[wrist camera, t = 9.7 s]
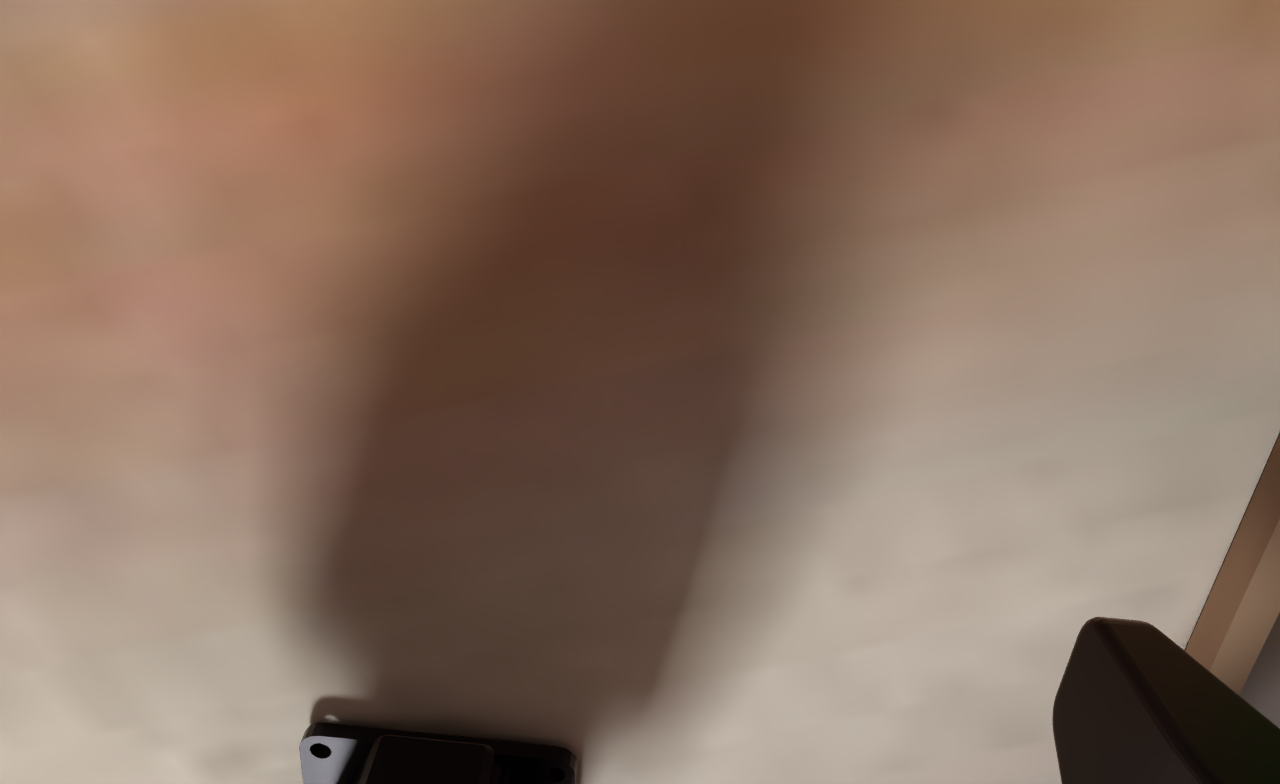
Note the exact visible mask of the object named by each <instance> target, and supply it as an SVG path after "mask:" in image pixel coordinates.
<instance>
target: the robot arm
mask: <svg viewBox="0 0 1280 784" xmlns="http://www.w3.org/2000/svg"><path fill="white" fill-rule="evenodd" d="M1053 733H1054V740H1055V746H1056V751H1057V757H1058V763H1059V769H1060V775H1061V781H1062V784H1280V728H1278V727H1277V726H1276V725H1275V724H1274V723H1272V722H1271V721H1270V720H1269V719H1267V718H1266V717H1265V716H1264V715H1262V714H1261V713H1260V712H1259V711H1258V710H1256V709H1255V708H1254V707H1253V706H1251V705H1250V704H1249V703H1248V702H1247V701H1245V700H1244V699H1243V698H1242V697H1240V696H1239V695H1238V694H1237V693H1236V692H1234V691H1233V690H1232V689H1231V688H1229V687H1228V686H1227V685H1226V684H1224V683H1223V682H1222V681H1221V680H1220V679H1218V678H1217V677H1216V676H1215V675H1213V674H1212V673H1211V672H1210V671H1209V670H1207V669H1206V668H1205V667H1204V666H1202V665H1201V664H1200V663H1199V662H1198V661H1196V660H1195V659H1194V658H1193V657H1191V656H1190V655H1189V654H1188V653H1186V652H1185V651H1184V650H1183V649H1182V648H1180V647H1179V646H1178V645H1177V644H1175V643H1174V642H1173V641H1172V640H1171V639H1169V638H1168V637H1167V636H1166V635H1164V634H1163V633H1162V632H1161V631H1160V630H1158V629H1157V628H1155V627H1154V626H1153V625H1151V624H1149V623H1146V622H1143V621H1137V620H1126V619H1116V618H1106V617H1095V618H1092V619H1090V620H1088V621H1087V622H1086V623H1085V624H1084V625H1083V627H1082V628H1081V630H1080V632H1079V634H1078V637H1077V640H1076V643H1075V645H1074V648H1073V651H1072V653H1071V656H1070V659H1069V662H1068V664H1067V667H1066V670H1065V672H1064V675H1063V678H1062V681H1061V683H1060V686H1059V689H1058V692H1057V694H1056V698H1055V701H1054V707H1053ZM323 744H324V745H323ZM299 749H300V758H301V766H302V775H303V784H576V777H577V759H576V756H575V755H574V754H573V753H572V752H571V751H569V750H568V749H566V748H563V747H558V746H550V745H540V744H530V743H521V742H511V741H501V740H491V739H481V738H471V737H461V736H451V735H441V734H431V733H421V732H411V731H401V730H391V729H381V728H371V727H361V726H351V725H341V724H331V723H316V724H313V725H311V726H309V727H308V728H307V730H306V731H305V734H304V736H303V738H302V741H301V743H300V748H299ZM552 767H557V768H552Z"/></svg>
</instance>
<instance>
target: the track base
mask: <svg viewBox="0 0 1280 784" xmlns="http://www.w3.org/2000/svg"><path fill="white" fill-rule="evenodd" d="M1185 652H1186V653H1188V654H1189V655H1190V656H1191V657H1193V658H1194V659H1195V660H1196V661H1198V662H1199V663H1200V664H1201V665H1202V666H1204V667H1205V668H1206V669H1207V670H1209V671H1210V672H1211V673H1212V674H1213V675H1215V676H1216V677H1217V678H1218V679H1220V680H1221V681H1222V682H1223V683H1224V684H1226V685H1227V686H1228V687H1229V688H1231V689H1232V690H1233V691H1234V692H1236V693H1237V694H1238V695H1239V696H1240V697H1242V698H1243V699H1244V700H1245V701H1247V702H1248V703H1249V704H1250V705H1251V706H1253V707H1254V708H1255V709H1256V710H1258V711H1259V712H1260V713H1261V714H1262V715H1264V716H1265V717H1266V718H1267V719H1269V720H1270V721H1271V722H1272V723H1274V724H1275V725H1276V726H1277V727H1278V728H1280V435H1279V437H1278V440H1277V442H1276V444H1275V447H1274V449H1273V451H1272V453H1271V456H1270V458H1269V460H1268V463H1267V465H1266V467H1265V469H1264V472H1263V474H1262V476H1261V479H1260V481H1259V483H1258V485H1257V488H1256V490H1255V492H1254V494H1253V497H1252V499H1251V501H1250V504H1249V506H1248V508H1247V510H1246V513H1245V515H1244V517H1243V520H1242V522H1241V524H1240V526H1239V529H1238V531H1237V533H1236V536H1235V538H1234V540H1233V542H1232V545H1231V547H1230V549H1229V552H1228V554H1227V556H1226V558H1225V561H1224V563H1223V565H1222V567H1221V570H1220V572H1219V574H1218V577H1217V579H1216V581H1215V583H1214V586H1213V588H1212V590H1211V593H1210V595H1209V597H1208V599H1207V602H1206V604H1205V606H1204V609H1203V611H1202V613H1201V615H1200V618H1199V620H1198V622H1197V624H1196V627H1195V629H1194V631H1193V634H1192V636H1191V638H1190V640H1189V643H1188V645H1187V647H1186V650H1185Z"/></svg>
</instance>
